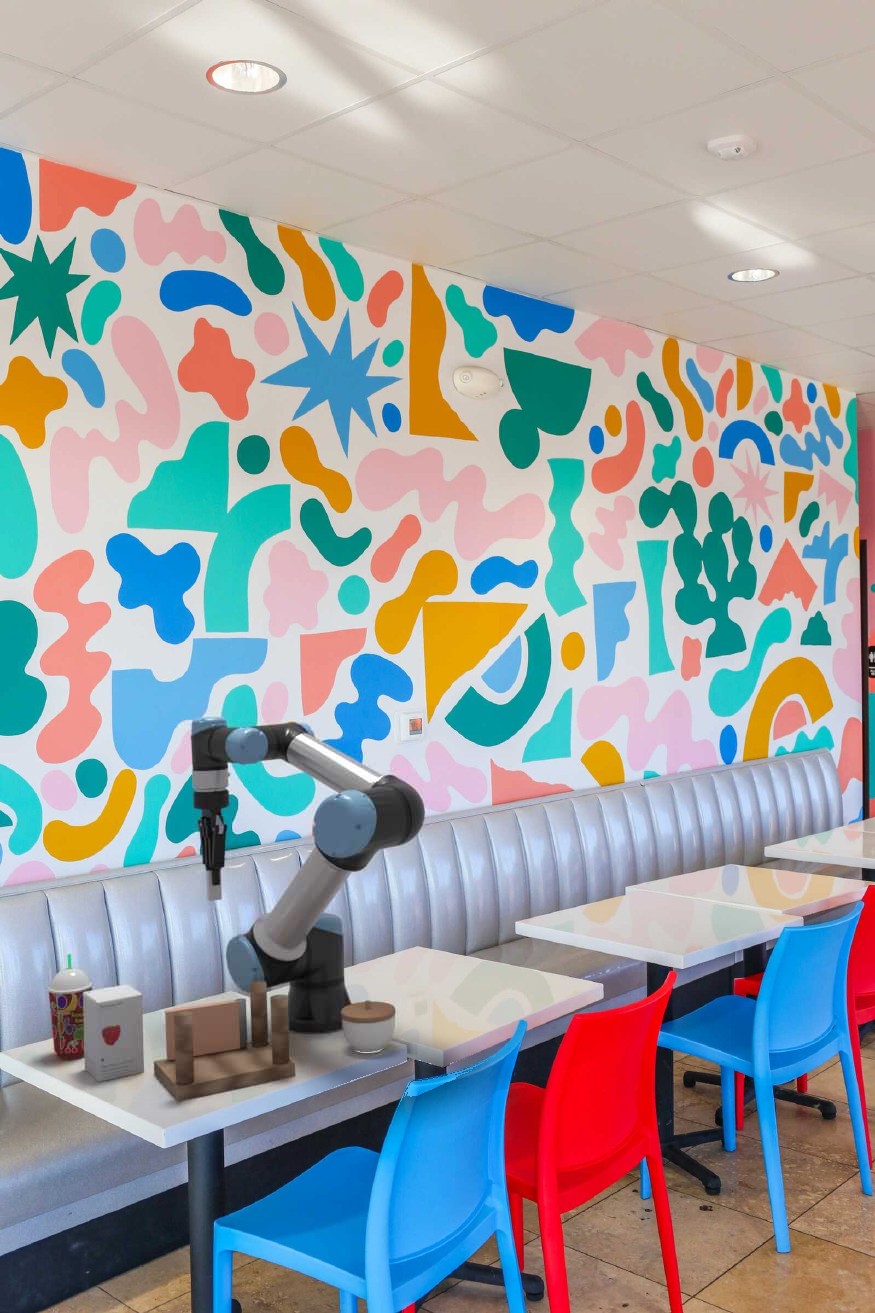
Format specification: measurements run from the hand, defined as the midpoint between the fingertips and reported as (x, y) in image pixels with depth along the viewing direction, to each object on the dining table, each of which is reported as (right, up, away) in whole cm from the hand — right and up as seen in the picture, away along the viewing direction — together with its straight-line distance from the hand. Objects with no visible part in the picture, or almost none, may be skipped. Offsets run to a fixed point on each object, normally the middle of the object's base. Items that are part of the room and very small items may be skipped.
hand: (214, 899), depth 249 cm
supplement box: (-14, -27, -27) cm, 41 cm away
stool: (+8, -26, -31) cm, 42 cm away
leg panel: (+4, -24, -27) cm, 36 cm away
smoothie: (-25, -27, -17) cm, 41 cm away
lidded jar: (+34, -26, -19) cm, 47 cm away
